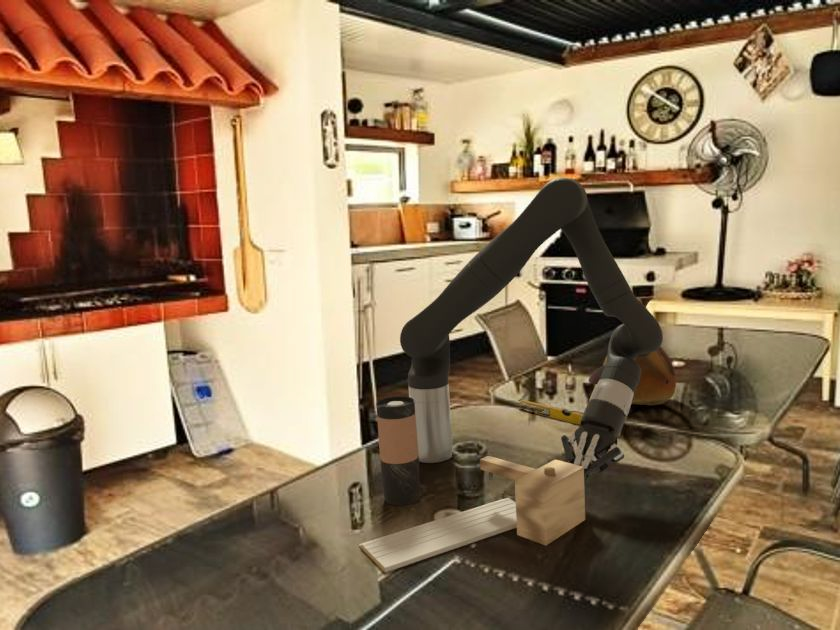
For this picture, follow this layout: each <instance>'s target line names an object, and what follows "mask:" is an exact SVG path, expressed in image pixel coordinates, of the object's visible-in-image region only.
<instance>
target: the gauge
mask: <svg viewBox="0 0 840 630" xmlns="http://www.w3.org/2000/svg"><path fill="white" fill-rule="evenodd" d="M479 464H480V467H479V468H480V470H481V471H484V472H488V478H489V481H493V480H494V474H495V475H497V476H500V477H504V478H508V479H510V480H514V494H515V496H514V497H515V502H516V520H517V528H516V535H517V536H519V537H522V538H524V539H527V540H530V541H532V542H535V543H538V544H541V545H543V546H548V545H549V544H550V543H551V544H552V543H553V542H554V541H555V540H557V539H558V538H559V537H561V536H563V535H565V534H566V533H567V532H569V531H571V530H572V529H574V528H575V527H576V526H578V525H580V524H582V522H584V521H585V520H586V504H585V503H586V502H585V499H586V497H585V488H584V467H582V466H578V465H575V464H571V463H569V462H568V461H567V462H566V461H563V460H560V459H559V460H558V459H553V460H551V461H549V462H547V463H546V464H543V465H542V466H540V467H538V468H533V467H529V466H527V465H523V464H519V463H515V462H512V461H508V460H506V459H501V458H497V457H494V456H490V455H487V456H484V457H482V458H480V459H479Z"/></svg>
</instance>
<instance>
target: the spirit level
mask: <svg viewBox="0 0 840 630" xmlns="http://www.w3.org/2000/svg"><path fill="white" fill-rule="evenodd" d="M518 401H521V402H524V403H526V404H529V405H533V406H536V407H538V408H542V409H544V411H542V412H537V413H535V414H536V415H540V416H543V417H548V418H552V419H556V420H560V421H564V422H567V423H571V424H574V425H575V424H576V425H579V426H580V424H581V418H582V416H583V414H584V413H579V412H576V411H575V412H574V411H572V412H568V411H566V409H562V408H558V407H554V406H549V405H546V404H542V403H538V402H533V401H529V400H525V399H522V398H520V399H518ZM518 401H517V402H518ZM625 431H626V426H625V422H624V424H623V427H622V429H621V432H620V434H619V436H620V437H622V436H623V435H626V433H625Z"/></svg>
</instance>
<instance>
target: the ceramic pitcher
mask: <svg viewBox="0 0 840 630" xmlns="http://www.w3.org/2000/svg"><path fill="white" fill-rule="evenodd" d="M635 297H636V298H637V299H638V300H639V301H640V302H641V303H642V304H643V305H644V306H645V307H646V308H647V306H648V304H649V303H650V302H651V301H652V300H653V296H635ZM635 362H636V363H637V364H638V365H639V366H640V368H641V377H640V380H639V383H638V385H637V388H636V390H635V393H634V395H633V399H632V403H631V405H638V406H640V405H641V406H657V405H659V406H660V405H662V403H663V404H664V403H666V402H667V401H669V400H670V399H672V398H673V396H674V394H675V393H676V385H677V379H676V373H675V370H674V369H675V368H674V367H673V363H672V361H671V359H670V357H669V356H668V354H667V352H666V350H664V348H663V347H662V345H661V346H660V348H659V349H657V350H656V351H654V352H651V353H647V354H643V355H639V356H637V357H636V359H635ZM606 363H607V355H606V357H605V359H604V361H603V364H602V366H604V365H606Z"/></svg>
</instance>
